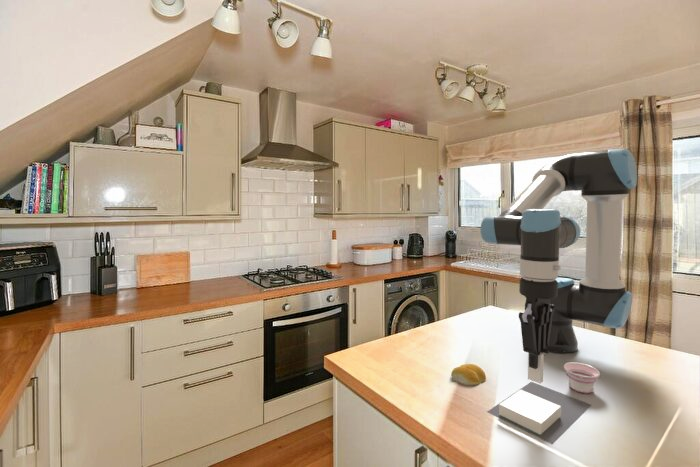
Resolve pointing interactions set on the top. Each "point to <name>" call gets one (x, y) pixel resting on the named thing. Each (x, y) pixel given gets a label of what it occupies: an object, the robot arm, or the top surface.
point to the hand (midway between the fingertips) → (535, 380)
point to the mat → (569, 405)
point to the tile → (530, 411)
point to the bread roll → (468, 374)
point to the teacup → (581, 376)
